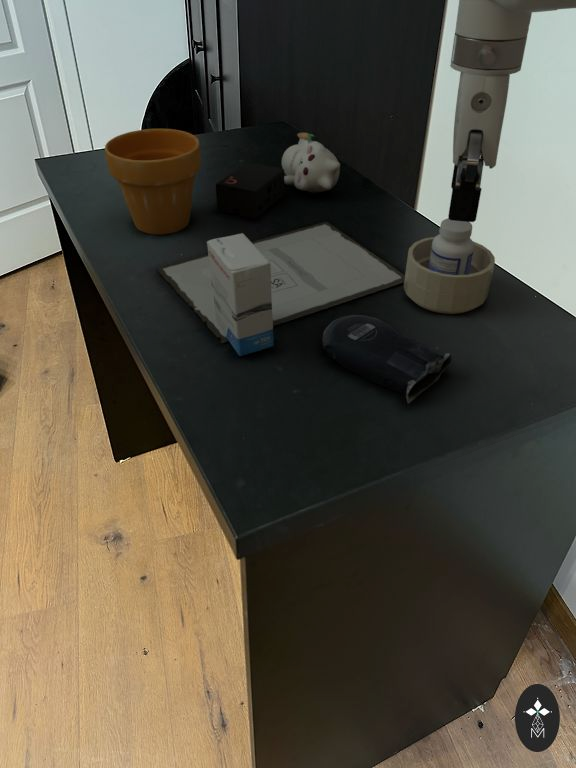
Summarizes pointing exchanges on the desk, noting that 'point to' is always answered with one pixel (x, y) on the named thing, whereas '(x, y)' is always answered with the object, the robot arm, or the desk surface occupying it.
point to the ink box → (241, 293)
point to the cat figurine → (310, 166)
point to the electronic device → (250, 190)
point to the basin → (447, 280)
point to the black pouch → (383, 354)
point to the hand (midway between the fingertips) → (462, 204)
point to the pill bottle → (452, 248)
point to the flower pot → (156, 176)
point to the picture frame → (293, 274)
